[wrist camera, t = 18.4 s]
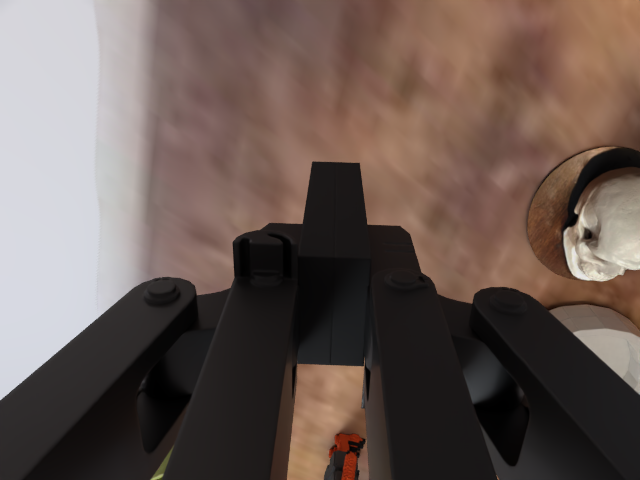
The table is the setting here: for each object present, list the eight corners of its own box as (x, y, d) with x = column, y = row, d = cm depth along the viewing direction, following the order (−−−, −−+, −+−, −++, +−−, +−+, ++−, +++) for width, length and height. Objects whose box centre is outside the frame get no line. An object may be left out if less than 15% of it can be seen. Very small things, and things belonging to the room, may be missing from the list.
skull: (649, 295, 47) (616, 333, 39) (541, 243, 52) (495, 269, 45) (721, 170, 41) (698, 189, 34) (592, 128, 47) (549, 137, 40)
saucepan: (521, 288, 48) (539, 315, 44) (667, 316, 49) (697, 345, 45) (472, 404, 54) (483, 438, 50) (602, 427, 55) (624, 462, 51)
